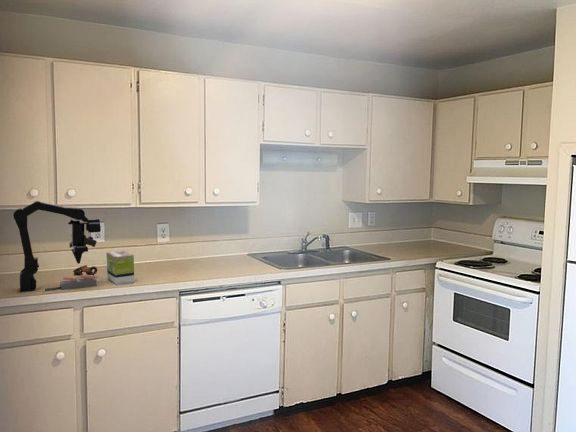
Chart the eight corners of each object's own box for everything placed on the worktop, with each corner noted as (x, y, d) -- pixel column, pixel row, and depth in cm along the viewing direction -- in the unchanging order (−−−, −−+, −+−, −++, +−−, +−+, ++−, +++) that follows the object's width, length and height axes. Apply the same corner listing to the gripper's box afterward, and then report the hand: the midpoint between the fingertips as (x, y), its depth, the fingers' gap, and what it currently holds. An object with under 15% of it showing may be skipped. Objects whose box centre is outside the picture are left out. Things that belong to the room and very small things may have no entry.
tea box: (106, 279, 251) (105, 252, 250) (125, 276, 258) (124, 250, 256) (115, 284, 240) (114, 256, 238) (135, 282, 246) (134, 254, 244)
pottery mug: (80, 282, 245) (73, 268, 246) (76, 287, 252) (69, 273, 253) (102, 273, 253) (95, 260, 254) (97, 278, 260) (91, 265, 261)
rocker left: (63, 279, 230) (63, 277, 230) (62, 278, 232) (62, 276, 232) (76, 280, 233) (76, 278, 233) (75, 279, 236) (75, 277, 236)
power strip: (45, 291, 225) (45, 285, 224) (44, 289, 230) (44, 282, 229) (96, 285, 237) (96, 279, 237) (94, 283, 242) (94, 277, 242)
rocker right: (80, 278, 234) (81, 275, 234) (79, 276, 237) (80, 274, 237) (93, 278, 238) (93, 276, 238) (92, 277, 240) (92, 275, 240)
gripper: (98, 234, 233) (99, 265, 235) (91, 230, 249) (92, 259, 250) (74, 235, 227) (74, 267, 229) (69, 231, 243) (69, 260, 244)
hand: (78, 263), depth 238 cm, fingers closed
